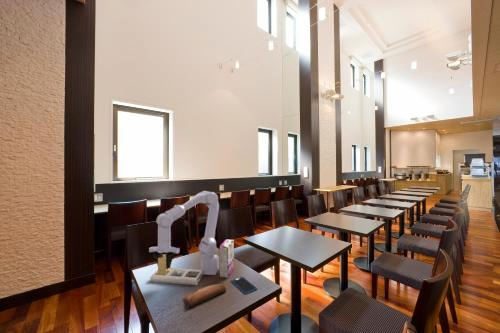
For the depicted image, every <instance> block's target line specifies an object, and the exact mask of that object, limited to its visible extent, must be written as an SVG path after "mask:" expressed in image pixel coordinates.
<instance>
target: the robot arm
mask: <svg viewBox="0 0 500 333" xmlns="http://www.w3.org/2000/svg"><path fill="white" fill-rule="evenodd" d="M198 204H205V205H206V207H207V208H208V212H207V218H206V225H205V230H204V236H203V237H202V238H201V241H200V243H199V245H198V250H199V253H200V270H203V275H205V276H206V275H207V276H209V275H210V276H215V275H216V274H217V272H218V271H219V270H220V256H219V255H218V254H216V253H217V241H216V239H215V236H216V229H217V223H218V222H217V221H218V216H219V211H220V203H219V196H218V195H217V194H216V192H214V191H207V190H202V191H201V192H198V193H197V194H196V195H195V196H193V197H192V198H190V199H189V200H188V201H186V202H185V203H183V204H175V205H174V206H173V207H172V208H170V209H169V210H166V211H165V212H164V213H160V214H159V215H158V216H157V218H156V219H155V221H156V222H155V223H156V224H157V246H151V247H149V248H148V252H149V253H153V254H152V257H153V258H154V259H155V262H156V266H158V257H160V256H161V255H162V254H164V253H165V254H167V255H166V259H167V269H169V268H172V267H171V266H172V262H173V259H174V257H175V255H176V254H177V255H178V254H179V253H180V247H174V246H171V245H172V244H171V243H172V242H171V240H172V237H171V236H172V234H171V226H172V225H173V222H175V221H177V220H178V219H179V218H182V216H184V215H185V214H186V211H187V210H189V209H191V208H193V207H194V206H196V205H198Z"/></svg>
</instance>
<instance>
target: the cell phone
mask: <svg viewBox="0 0 500 333" xmlns="http://www.w3.org/2000/svg"><path fill="white" fill-rule="evenodd" d="M230 282H231V284H233V285H234V286H235V287H236V289H238V290H239V291H240V292H241V293H242V294H243V295H249V294H252V293H254V292H255V291H258V288H257V286H255V285H254V284H253V283H251V282H250V281H249V280H247V279H246V278H245V277H244V276H239V277H237V278H234V279H232V280H230Z"/></svg>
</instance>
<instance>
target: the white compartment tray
mask: <svg viewBox="0 0 500 333" xmlns="http://www.w3.org/2000/svg"><path fill="white" fill-rule="evenodd" d="M202 277H204V274H203V270H201V269H194V268H178V267H177V268H176V267H170V272H169V273H168V274H167V275H158V269H157V270H156V271H155V272H154V273H153V274H151V276H150V278H149V279H150V282H152V283H165V284H166V283H167V284H176V285H177V284H178V285H179V284H180V285H190V286H197V285H198V283H199V282H200V280H201V278H202Z"/></svg>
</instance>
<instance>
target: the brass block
mask: <svg viewBox="0 0 500 333" xmlns="http://www.w3.org/2000/svg"><path fill="white" fill-rule="evenodd" d="M167 254H168V253H165V254H164V253H163V254H162V255H161V256H160V257H158V265H157V270H158V275H165V276H166V275H167V274H168V273H169V272H170V268H171V267H170V268H169V269H167V259H166V255H167Z"/></svg>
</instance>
